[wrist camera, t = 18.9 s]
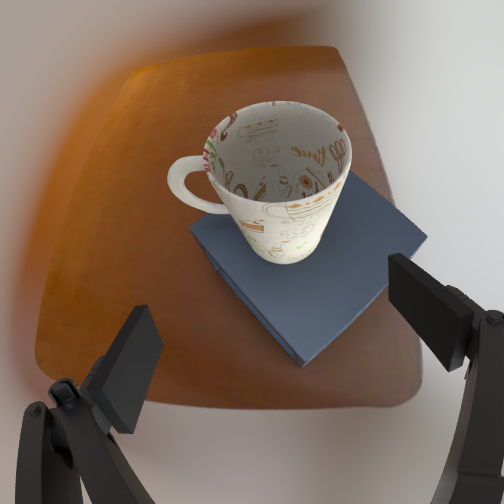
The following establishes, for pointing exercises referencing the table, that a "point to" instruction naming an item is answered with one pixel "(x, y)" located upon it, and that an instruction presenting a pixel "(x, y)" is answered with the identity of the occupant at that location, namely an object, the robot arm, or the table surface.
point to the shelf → (314, 269)
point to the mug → (272, 175)
